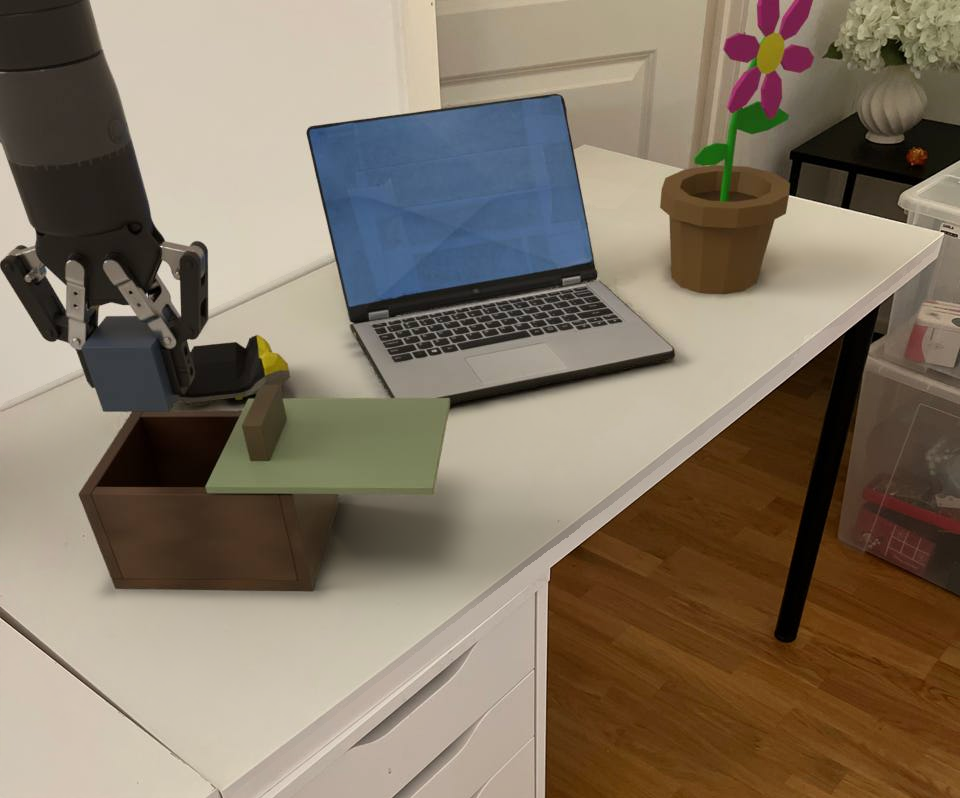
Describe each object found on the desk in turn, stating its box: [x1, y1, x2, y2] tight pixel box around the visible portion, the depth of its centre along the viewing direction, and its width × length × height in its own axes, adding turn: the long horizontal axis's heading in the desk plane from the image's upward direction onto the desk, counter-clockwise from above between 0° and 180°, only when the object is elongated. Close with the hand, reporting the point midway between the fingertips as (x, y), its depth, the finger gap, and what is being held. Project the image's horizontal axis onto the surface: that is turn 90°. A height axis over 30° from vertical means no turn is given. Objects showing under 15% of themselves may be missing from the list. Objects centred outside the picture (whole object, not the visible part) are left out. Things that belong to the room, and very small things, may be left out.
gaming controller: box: [175, 333, 291, 407], centre depth 97 cm, size 15×6×10 cm
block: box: [81, 315, 179, 413], centre depth 70 cm, size 5×5×5 cm
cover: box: [205, 385, 451, 495], centre depth 72 cm, size 16×13×4 cm
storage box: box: [78, 409, 340, 592], centre depth 77 cm, size 16×12×9 cm
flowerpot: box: [659, 0, 815, 295], centre depth 105 cm, size 14×14×30 cm
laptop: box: [306, 93, 676, 405], centre depth 102 cm, size 30×32×18 cm
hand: (144, 389), depth 71 cm, fingers closed on block, 5 cm apart
